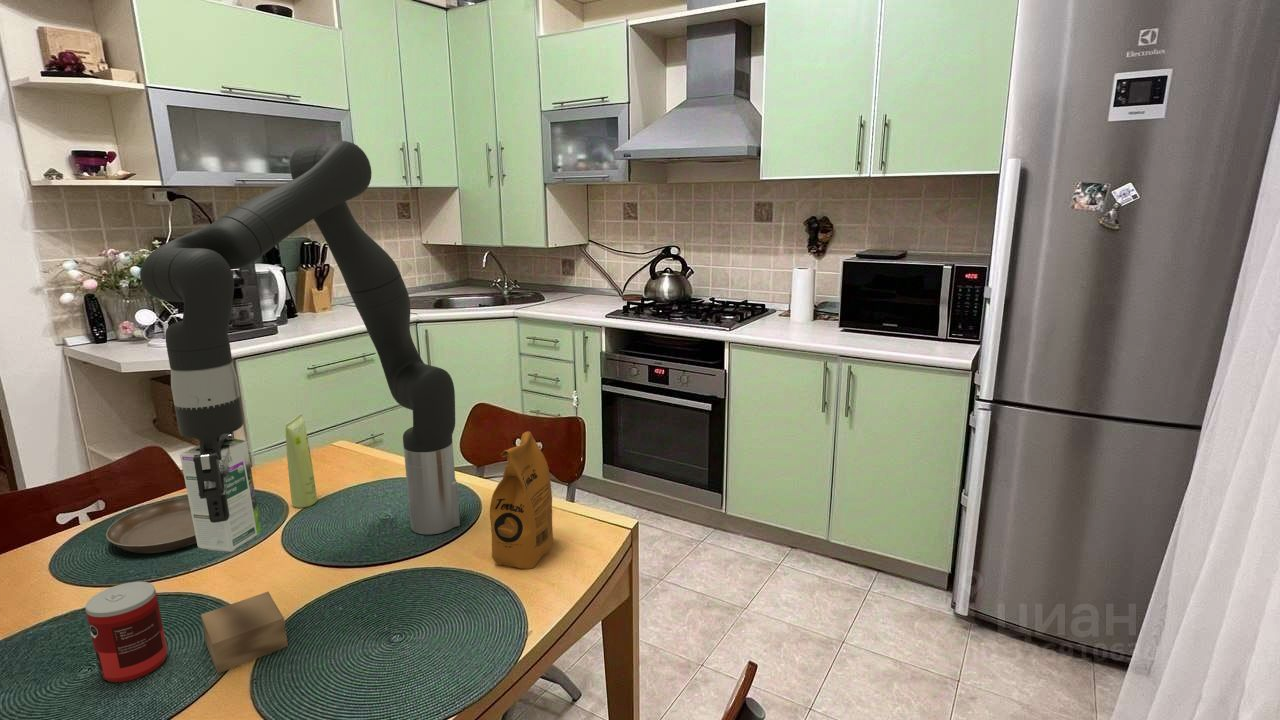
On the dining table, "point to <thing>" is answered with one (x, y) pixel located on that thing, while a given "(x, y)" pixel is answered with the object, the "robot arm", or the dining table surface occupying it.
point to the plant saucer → (155, 528)
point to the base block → (244, 631)
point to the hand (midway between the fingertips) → (225, 508)
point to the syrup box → (239, 501)
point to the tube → (300, 464)
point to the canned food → (126, 631)
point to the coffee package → (522, 507)
